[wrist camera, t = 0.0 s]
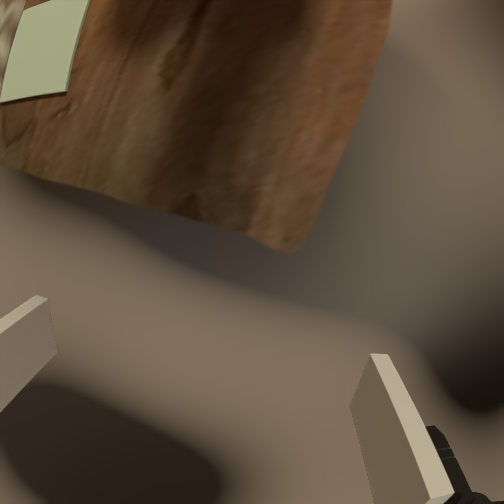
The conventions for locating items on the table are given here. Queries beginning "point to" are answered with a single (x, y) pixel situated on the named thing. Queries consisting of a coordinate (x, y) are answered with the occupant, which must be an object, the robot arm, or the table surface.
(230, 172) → the table surface
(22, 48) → the pad
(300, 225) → the table surface
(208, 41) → the table surface
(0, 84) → the frame
